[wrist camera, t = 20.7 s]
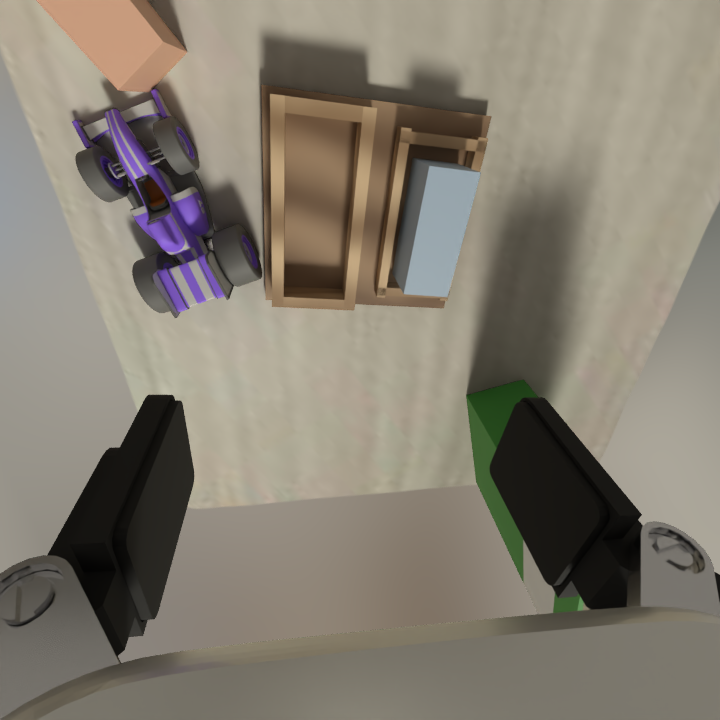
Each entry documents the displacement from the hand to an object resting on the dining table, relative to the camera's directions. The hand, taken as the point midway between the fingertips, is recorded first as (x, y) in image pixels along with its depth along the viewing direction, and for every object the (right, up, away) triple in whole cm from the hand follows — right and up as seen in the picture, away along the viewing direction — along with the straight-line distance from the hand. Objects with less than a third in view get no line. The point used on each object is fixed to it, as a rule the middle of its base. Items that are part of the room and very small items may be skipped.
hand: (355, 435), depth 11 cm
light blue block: (+6, +15, +24) cm, 29 cm away
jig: (+1, +15, +24) cm, 29 cm away
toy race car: (-16, +15, +22) cm, 31 cm away
